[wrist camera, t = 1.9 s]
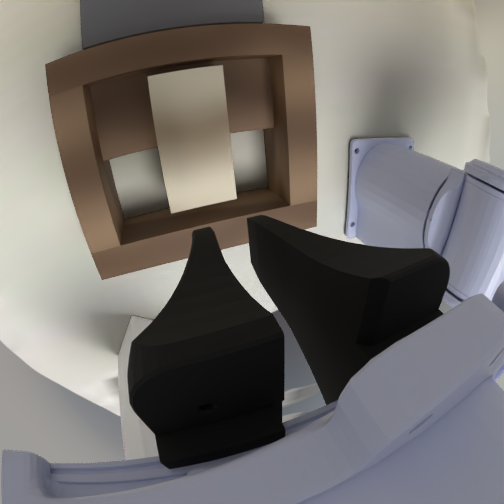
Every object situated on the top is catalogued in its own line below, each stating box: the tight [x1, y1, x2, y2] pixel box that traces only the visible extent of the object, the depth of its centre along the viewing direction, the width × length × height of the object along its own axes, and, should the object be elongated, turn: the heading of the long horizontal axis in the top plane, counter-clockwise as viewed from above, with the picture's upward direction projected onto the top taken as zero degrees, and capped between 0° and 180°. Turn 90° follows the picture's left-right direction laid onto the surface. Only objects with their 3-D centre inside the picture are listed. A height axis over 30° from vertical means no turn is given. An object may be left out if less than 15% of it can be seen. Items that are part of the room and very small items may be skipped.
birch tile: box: [148, 65, 237, 214], centre depth 15 cm, size 8×4×2 cm, turn 5°
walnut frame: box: [45, 24, 317, 280], centre depth 16 cm, size 14×15×4 cm
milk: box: [118, 316, 159, 460], centre depth 17 cm, size 6×6×22 cm
